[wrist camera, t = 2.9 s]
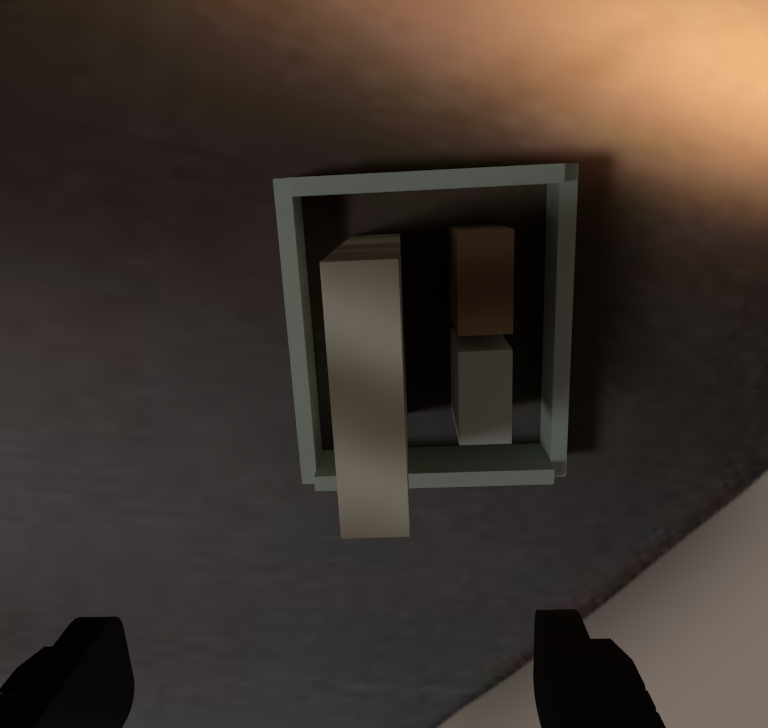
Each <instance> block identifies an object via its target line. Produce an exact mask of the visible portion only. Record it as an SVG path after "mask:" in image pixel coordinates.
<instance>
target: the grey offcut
mask: <svg viewBox="0 0 768 728" xmlns="http://www.w3.org/2000/svg"><path fill="white" fill-rule="evenodd" d="M450 359H451V409H452V414H453V418H454V423H455V427H456V432H457V436H458V441H459V445H482V444H512V370H513V350H512V348H511V347H510V345H509V344H508V342H507V341H506V339H505V338H504V337H503V335H502V334H499V335H474V336H458V335H457V332H456V329H455V328H450Z"/></svg>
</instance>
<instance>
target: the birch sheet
mask: <svg viewBox="0 0 768 728" xmlns="http://www.w3.org/2000/svg"><path fill="white" fill-rule="evenodd" d="M320 275H321V287H322V300H323V313H324V326H325V338H326V351H327V364H328V377H329V390H330V402H331V415H332V428H333V441H334V453H335V466H336V479H337V492H338V504H339V517H340V530H341V538H377V537H410V528H409V478H408V428H407V395H406V371H405V346H404V321H403V296H402V271H401V246H400V233H393V234H372V235H352V236H351V237H350V238H348V239H347V240H346V241H345V242H344V243H342V244H341V245H340V246H339V247H338V248H336V249H335V250H334V251H333V252H331V253H330V254H329V255H328V256H327V257H325V258H324V259H323V260H322V261H321V262H320Z"/></svg>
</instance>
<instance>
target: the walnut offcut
mask: <svg viewBox="0 0 768 728" xmlns="http://www.w3.org/2000/svg"><path fill="white" fill-rule="evenodd" d="M448 248H449V303H450V317H451V319H452V322H453V324H454V327H455V329H456V332H457V335H458V336H474V335H499V334H513V305H514V229H512V228H509V227H506V226H503V225H500V224H477V225H456V226H448Z"/></svg>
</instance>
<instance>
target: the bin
mask: <svg viewBox="0 0 768 728" xmlns="http://www.w3.org/2000/svg"><path fill="white" fill-rule="evenodd" d="M578 167H579V163H572V164H565V163H559V164H540V165H521V166H502V167H483V168H464V169H444V170H425V171H406V172H387V173H368V174H349V175H330V176H310V177H291V178H284V179H273V186H274V196H275V206H276V217H277V227H278V238H279V248H280V258H281V269H282V279H283V289H284V300H285V310H286V321H287V331H288V341H289V352H290V362H291V373H292V383H293V393H294V404H295V414H296V424H297V435H298V445H299V456H300V466H301V476H302V484H315V491H333V490H337V479H336V466H335V453H334V450H322V440H321V429H320V417H319V405H318V393H317V381H316V369H315V357H314V346H313V334H312V322H311V310H310V298H309V286H308V274H307V263H306V251H305V239H304V227H303V215H302V203H301V196H319V195H338V194H358V193H378V192H397V191H417V190H437V189H456V188H476V187H496V186H515V185H535V184H547V202H546V240H545V277H544V314H543V352H542V389H541V426H540V443H531V444H499V445H468V446H437V447H408V478H409V488H436V487H471V486H505V485H540V484H554V477H556V476H566V462H567V438H568V413H569V388H570V364H571V339H572V315H573V290H574V265H575V241H576V216H577V192H578Z"/></svg>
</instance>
